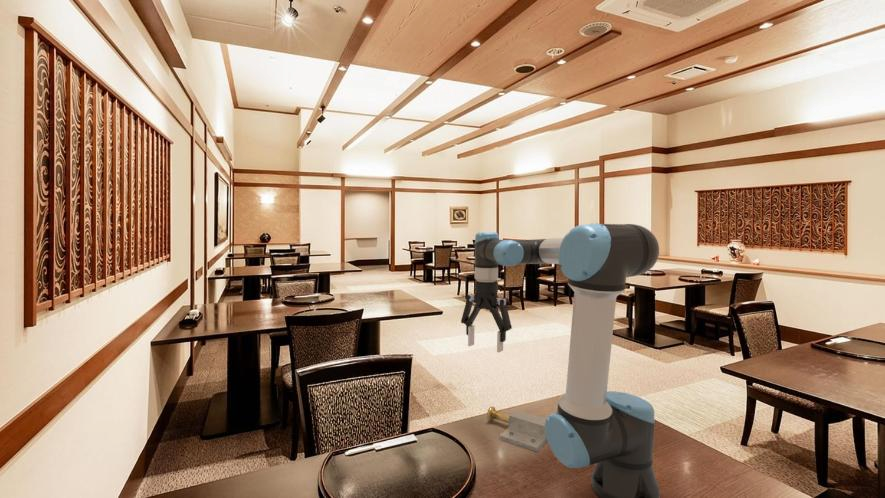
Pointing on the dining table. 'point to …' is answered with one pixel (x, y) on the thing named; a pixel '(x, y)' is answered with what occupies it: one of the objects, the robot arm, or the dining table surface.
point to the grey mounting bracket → (525, 430)
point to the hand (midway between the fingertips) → (485, 348)
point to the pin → (497, 415)
